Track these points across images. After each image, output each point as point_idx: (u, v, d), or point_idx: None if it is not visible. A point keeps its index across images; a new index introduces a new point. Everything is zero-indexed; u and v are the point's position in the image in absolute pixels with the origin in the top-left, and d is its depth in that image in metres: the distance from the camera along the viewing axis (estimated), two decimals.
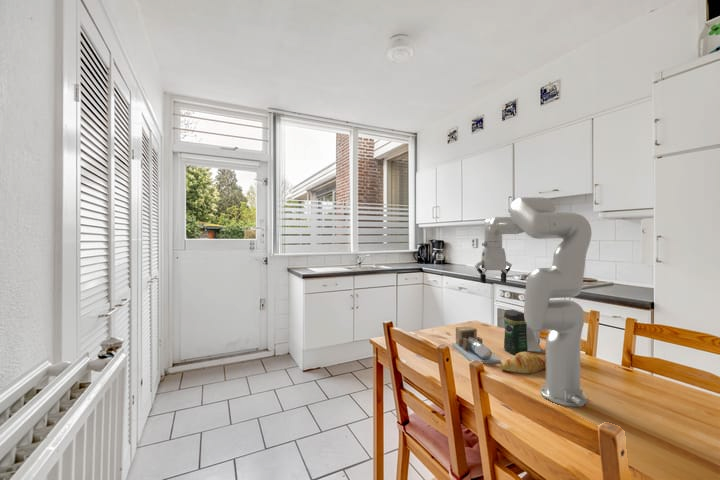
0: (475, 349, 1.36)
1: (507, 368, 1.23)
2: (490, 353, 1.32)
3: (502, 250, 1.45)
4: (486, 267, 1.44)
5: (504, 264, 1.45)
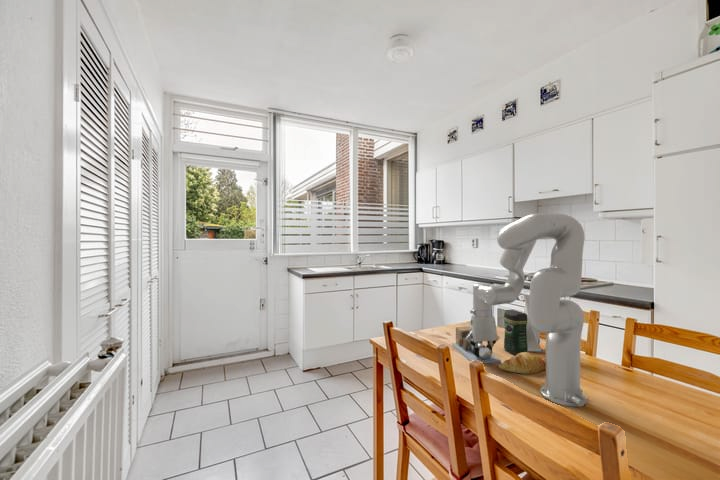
0: None
1: (506, 368, 1.23)
2: (490, 353, 1.32)
3: (492, 319, 1.32)
4: (474, 338, 1.32)
5: (494, 334, 1.33)
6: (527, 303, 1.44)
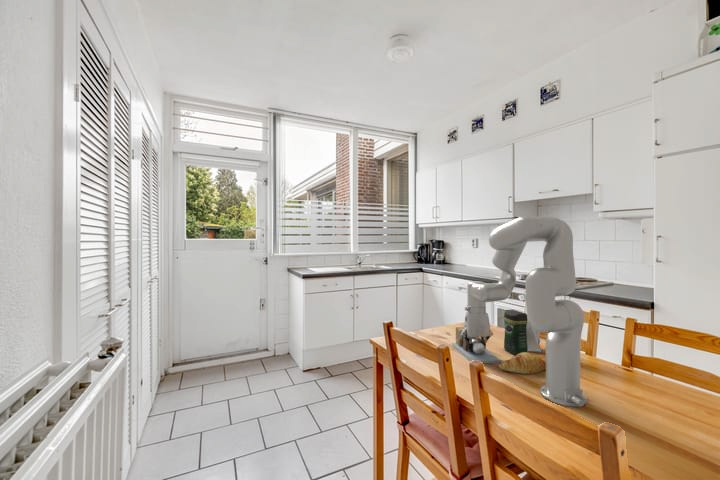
0: None
1: (506, 368, 1.23)
2: (484, 348, 1.38)
3: (486, 316, 1.38)
4: (469, 334, 1.37)
5: (488, 330, 1.38)
6: None
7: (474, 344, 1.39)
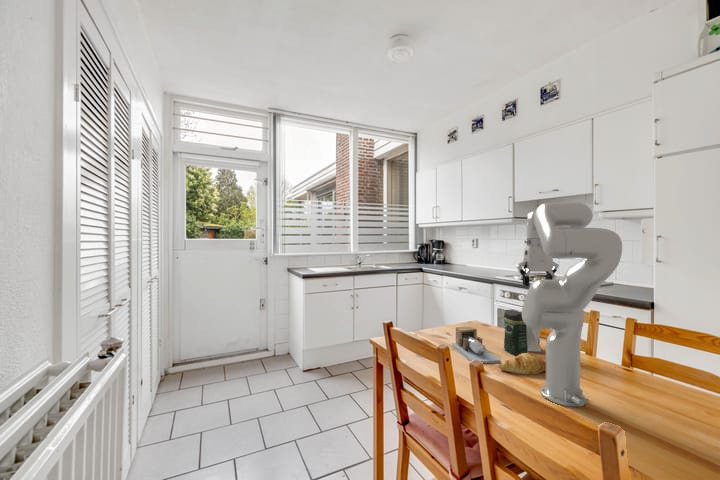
0: (470, 345, 1.42)
1: (505, 368, 1.23)
2: (484, 349, 1.37)
3: None
4: (530, 268, 1.25)
5: (551, 264, 1.26)
6: None
7: (474, 344, 1.38)
